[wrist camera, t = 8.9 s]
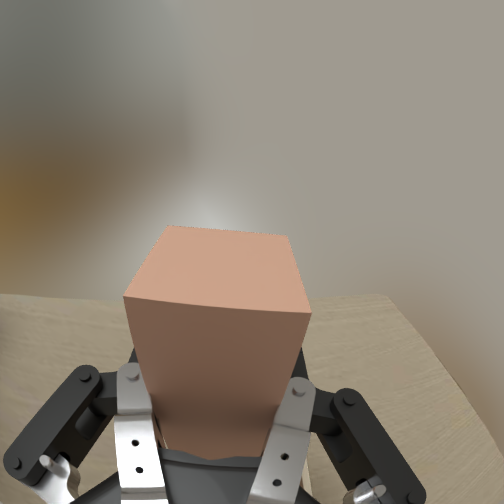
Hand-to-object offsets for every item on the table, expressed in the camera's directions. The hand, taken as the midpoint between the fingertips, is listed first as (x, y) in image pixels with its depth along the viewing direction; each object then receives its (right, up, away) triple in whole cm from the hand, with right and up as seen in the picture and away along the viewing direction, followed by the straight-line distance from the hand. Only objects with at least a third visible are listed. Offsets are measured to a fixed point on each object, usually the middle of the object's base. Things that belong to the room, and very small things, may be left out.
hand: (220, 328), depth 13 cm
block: (-1, -7, +1) cm, 7 cm away
